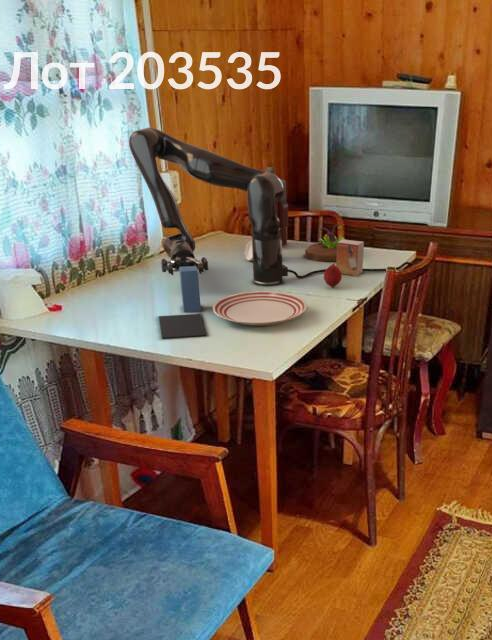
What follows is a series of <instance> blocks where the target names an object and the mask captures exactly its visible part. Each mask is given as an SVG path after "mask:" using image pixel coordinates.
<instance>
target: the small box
mask: <svg viewBox="0 0 492 640" xmlns="http://www.w3.org/2000/svg"><path fill="white" fill-rule="evenodd" d="M364 246H365V241H362V240H361V241H360V240H352V239H350V240H349V239H345V238H344V239H342V240H341V241H339V242H337V262H335V266H336V267H338V268H339V270H340V271H341V274H344V275H349V276H354V277H358V276H359V275H360V274H362V273H363V271H362V269H364V249H365V247H364Z"/></svg>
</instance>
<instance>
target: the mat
mask: <svg viewBox="0 0 492 640" xmlns="http://www.w3.org/2000/svg"><path fill="white" fill-rule="evenodd" d="M158 320H159V327H160V334H161V335H160V336H161V339H162V340H166V339H167V340H168V339H181V338H199V337H207V332H206V329H205V325H204V322H203V319H202V315H201V313H193V314H175V315H173V314H172V315H159V316H158Z"/></svg>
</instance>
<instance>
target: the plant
mask: <svg viewBox="0 0 492 640" xmlns="http://www.w3.org/2000/svg"><path fill="white" fill-rule="evenodd" d="M336 228H337V229H338V230H340V231H341V230H342V229H343V226H342V225H341V224H335V225H334V226H333V228H332V230H331V232H330V229H328V228H326V227H321V228H319V233H321V234H322V233H323V231H326V232H327V233H325V234H324V236H323V238H318V240H319V242H314V243H311V244H310V245H309V246H308V247H307V248H305V250H304V255H305V257H306V258H307V259H308V260H316V261H319V262H331V263H333V262H334V263H337V242H339V241H341V240H342V239H345V236H342V237H340V238H337V237H336V233H335V232H336Z"/></svg>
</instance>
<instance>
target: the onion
mask: <svg viewBox="0 0 492 640" xmlns="http://www.w3.org/2000/svg"><path fill="white" fill-rule="evenodd" d="M325 269H326V270H325V272H323V280H324V282H325V283H326V285H328V286H329V287H330V288H335V287H336V286H337V285H339V284H340V282H341V281H342V277H343V275H342V273H341V271H340V270H339V268H338V267H336V262H331V264H330V265H329V266H328V267H327V268H325Z"/></svg>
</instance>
